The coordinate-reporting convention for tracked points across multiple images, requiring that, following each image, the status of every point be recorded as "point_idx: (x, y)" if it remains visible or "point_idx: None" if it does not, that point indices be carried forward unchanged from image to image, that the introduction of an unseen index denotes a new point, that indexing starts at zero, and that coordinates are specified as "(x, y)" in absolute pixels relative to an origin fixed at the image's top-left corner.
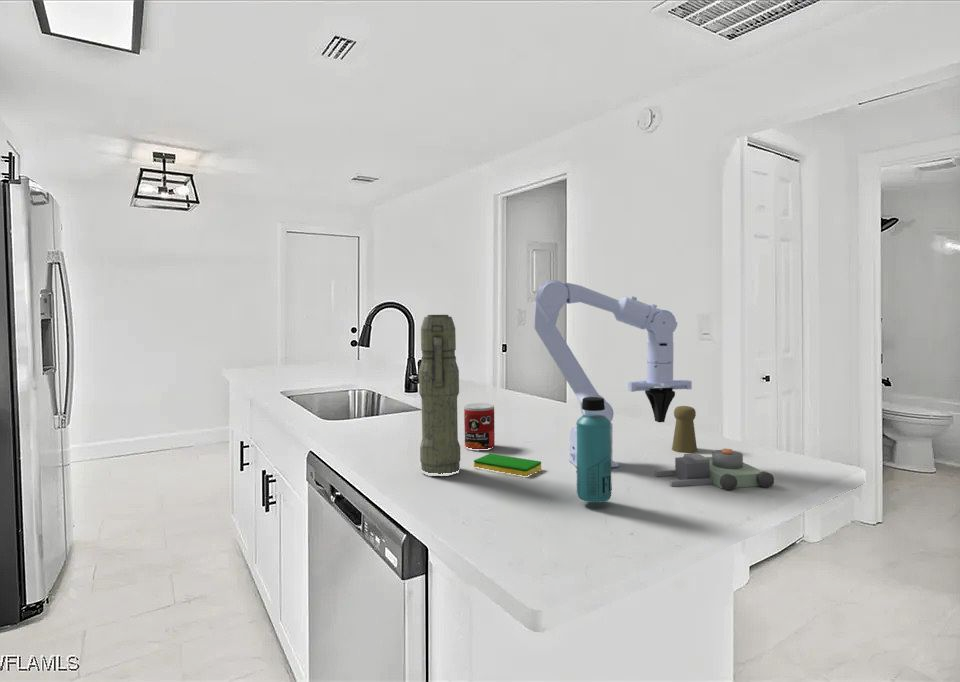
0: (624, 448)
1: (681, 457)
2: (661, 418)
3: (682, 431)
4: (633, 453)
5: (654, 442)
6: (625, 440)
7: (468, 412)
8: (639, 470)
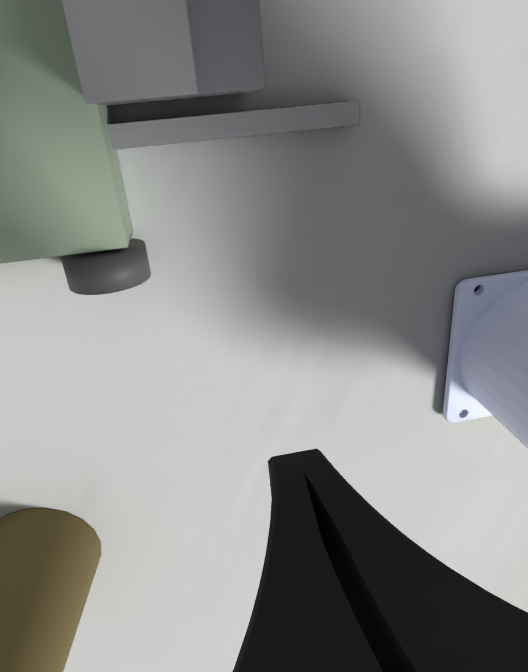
0: None
1: (219, 85)
2: (309, 468)
3: (36, 616)
4: None
5: (146, 638)
6: None
7: None
8: (383, 229)
